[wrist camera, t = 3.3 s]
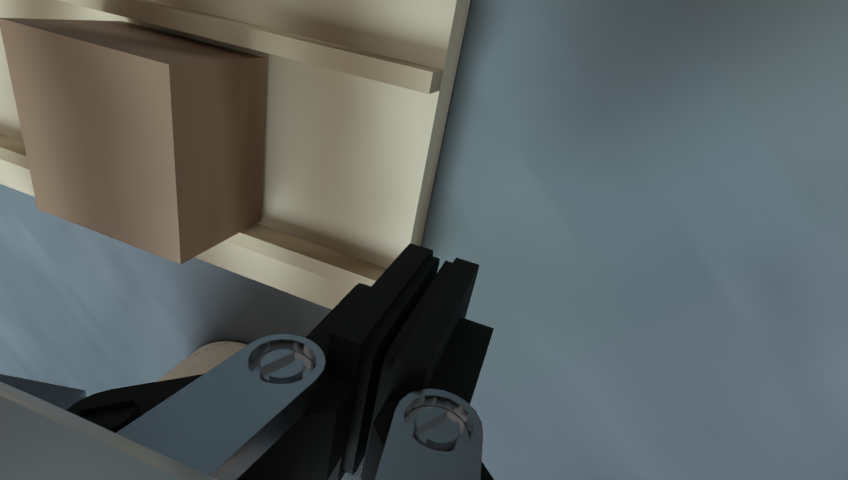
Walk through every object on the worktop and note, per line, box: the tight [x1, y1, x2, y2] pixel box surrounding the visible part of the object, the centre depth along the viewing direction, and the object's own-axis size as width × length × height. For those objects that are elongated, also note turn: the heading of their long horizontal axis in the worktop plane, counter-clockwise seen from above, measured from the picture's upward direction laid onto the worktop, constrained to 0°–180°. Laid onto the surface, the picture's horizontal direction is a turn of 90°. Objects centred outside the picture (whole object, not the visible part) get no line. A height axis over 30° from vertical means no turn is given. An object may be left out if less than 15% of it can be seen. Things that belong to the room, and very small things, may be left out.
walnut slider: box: [0, 18, 266, 264], centre depth 16 cm, size 6×6×4 cm
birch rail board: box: [0, 0, 471, 310], centre depth 20 cm, size 32×12×2 cm, turn 79°
